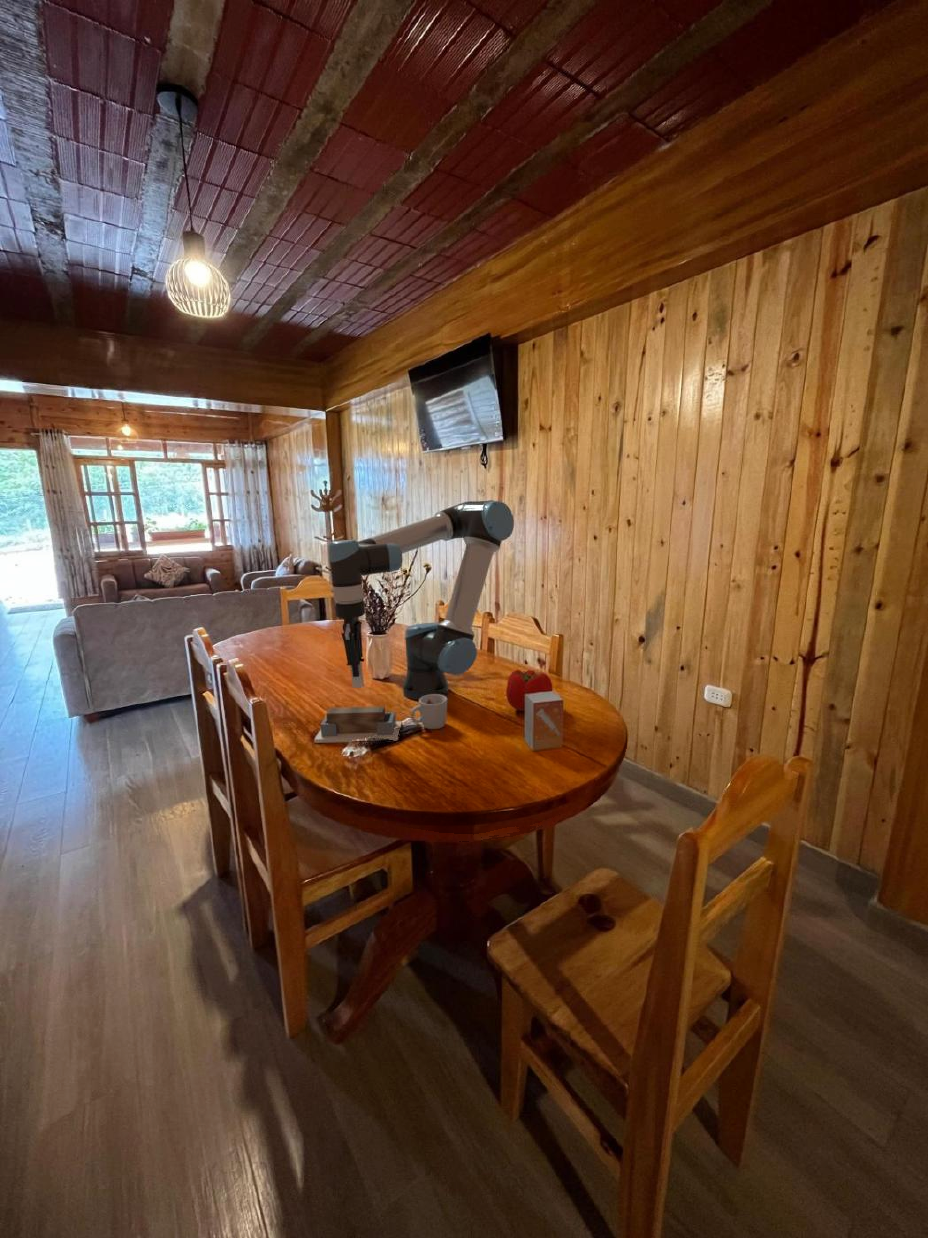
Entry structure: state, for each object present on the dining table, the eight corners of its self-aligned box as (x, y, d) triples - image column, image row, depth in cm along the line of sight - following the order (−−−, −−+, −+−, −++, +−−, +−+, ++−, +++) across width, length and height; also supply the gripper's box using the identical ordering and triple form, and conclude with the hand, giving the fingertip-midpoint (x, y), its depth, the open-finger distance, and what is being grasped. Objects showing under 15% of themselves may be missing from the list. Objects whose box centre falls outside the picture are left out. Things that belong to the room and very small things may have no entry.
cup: (417, 737, 135) (415, 709, 133) (406, 726, 141) (405, 699, 140) (453, 727, 139) (452, 701, 138) (441, 717, 146) (440, 691, 144)
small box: (532, 752, 125) (533, 703, 122) (524, 740, 131) (524, 693, 128) (563, 747, 126) (564, 699, 123) (553, 736, 132) (553, 690, 130)
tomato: (560, 706, 152) (560, 669, 149) (532, 722, 141) (532, 683, 139) (524, 696, 160) (524, 661, 158) (496, 710, 150) (495, 673, 148)
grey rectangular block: (386, 726, 139) (384, 706, 138) (383, 732, 135) (382, 712, 134) (332, 727, 139) (330, 707, 138) (328, 734, 135) (326, 713, 134)
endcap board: (402, 724, 142) (401, 709, 141) (397, 740, 133) (396, 725, 132) (324, 726, 143) (323, 711, 142) (314, 742, 133) (313, 727, 132)
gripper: (340, 596, 136) (349, 678, 141) (328, 607, 123) (338, 696, 129) (368, 595, 136) (376, 677, 141) (358, 605, 123) (367, 695, 129)
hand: (358, 686), depth 135 cm, fingers closed
